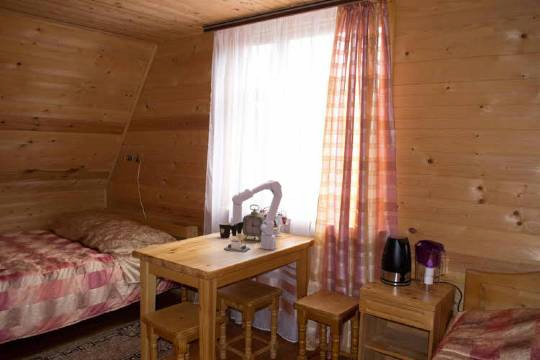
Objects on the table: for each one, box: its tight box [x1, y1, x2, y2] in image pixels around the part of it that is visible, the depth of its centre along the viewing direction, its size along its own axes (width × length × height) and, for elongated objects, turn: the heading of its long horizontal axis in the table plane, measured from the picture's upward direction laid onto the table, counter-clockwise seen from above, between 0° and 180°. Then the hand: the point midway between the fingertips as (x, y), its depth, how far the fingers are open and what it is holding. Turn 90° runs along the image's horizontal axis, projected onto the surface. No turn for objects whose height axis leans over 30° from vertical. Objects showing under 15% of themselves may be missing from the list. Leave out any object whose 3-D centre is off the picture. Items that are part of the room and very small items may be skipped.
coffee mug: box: [218, 221, 232, 239], centre depth 318 cm, size 12×9×10 cm
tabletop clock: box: [242, 204, 266, 242], centre depth 313 cm, size 14×9×25 cm, turn 73°
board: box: [223, 243, 251, 253], centre depth 286 cm, size 14×9×3 cm, turn 69°
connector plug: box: [230, 239, 242, 249], centre depth 286 cm, size 5×4×5 cm
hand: (236, 234), depth 286 cm, fingers open, 7 cm apart
